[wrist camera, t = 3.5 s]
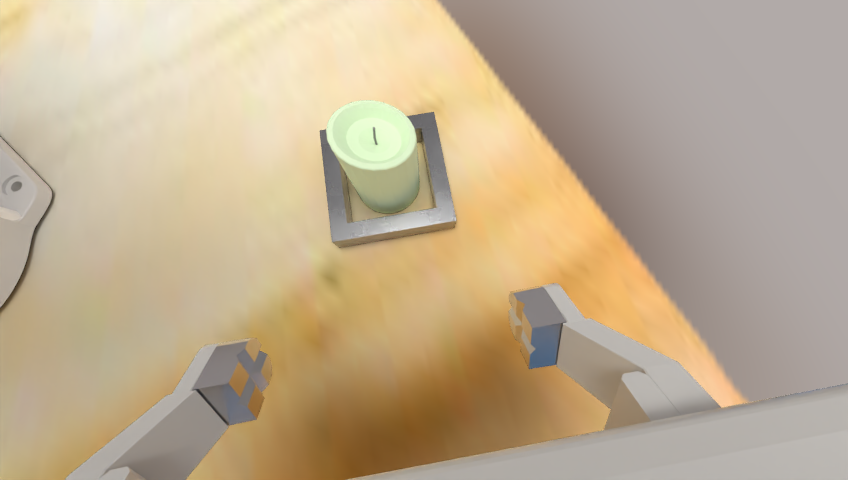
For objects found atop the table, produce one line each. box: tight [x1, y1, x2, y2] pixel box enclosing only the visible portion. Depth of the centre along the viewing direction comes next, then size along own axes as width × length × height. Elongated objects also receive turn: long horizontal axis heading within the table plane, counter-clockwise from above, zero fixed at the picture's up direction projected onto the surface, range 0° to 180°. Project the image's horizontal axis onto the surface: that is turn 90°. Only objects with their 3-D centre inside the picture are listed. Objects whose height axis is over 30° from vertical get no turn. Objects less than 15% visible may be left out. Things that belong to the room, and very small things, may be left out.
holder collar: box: [320, 112, 456, 248], centre depth 24 cm, size 9×9×2 cm
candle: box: [326, 100, 420, 213], centre depth 21 cm, size 5×5×8 cm
